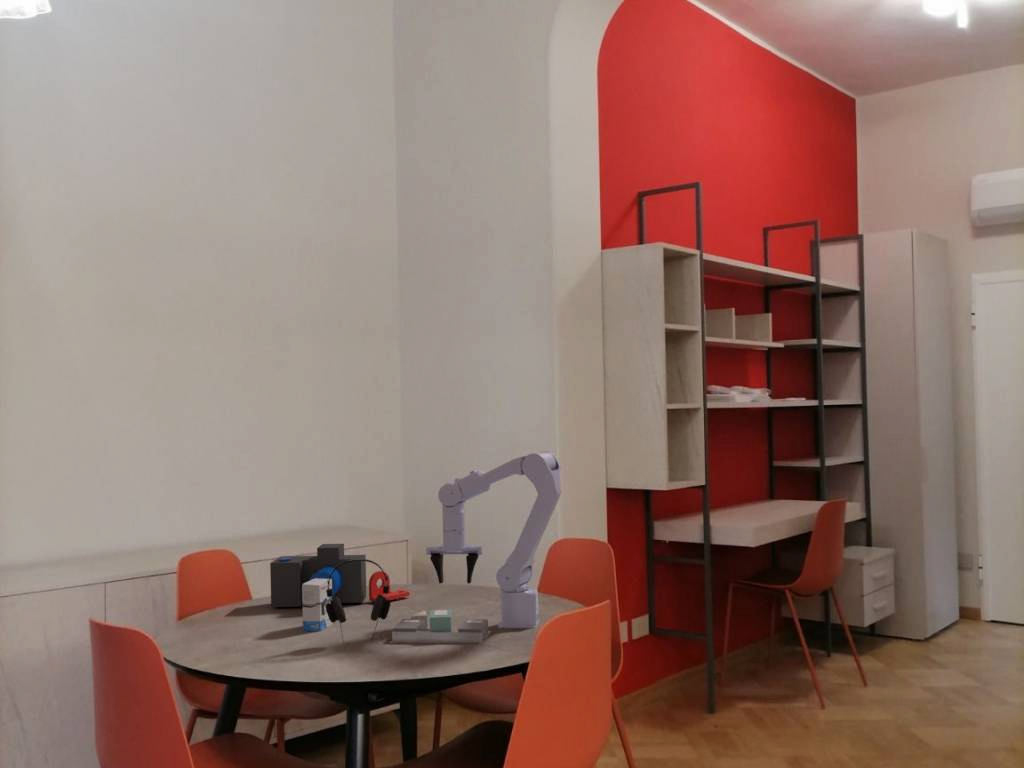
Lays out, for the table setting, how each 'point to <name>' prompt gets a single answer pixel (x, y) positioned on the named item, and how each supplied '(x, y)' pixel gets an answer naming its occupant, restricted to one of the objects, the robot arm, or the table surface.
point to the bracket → (376, 591)
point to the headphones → (379, 606)
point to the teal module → (441, 620)
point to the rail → (436, 637)
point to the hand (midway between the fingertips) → (455, 582)
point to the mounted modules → (466, 626)
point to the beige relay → (419, 616)
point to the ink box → (315, 604)
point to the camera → (318, 576)
